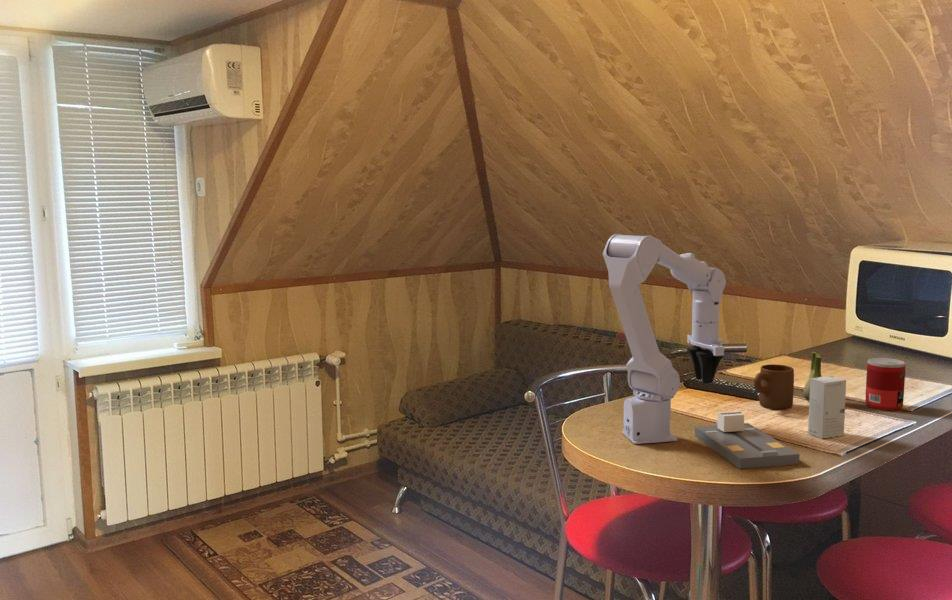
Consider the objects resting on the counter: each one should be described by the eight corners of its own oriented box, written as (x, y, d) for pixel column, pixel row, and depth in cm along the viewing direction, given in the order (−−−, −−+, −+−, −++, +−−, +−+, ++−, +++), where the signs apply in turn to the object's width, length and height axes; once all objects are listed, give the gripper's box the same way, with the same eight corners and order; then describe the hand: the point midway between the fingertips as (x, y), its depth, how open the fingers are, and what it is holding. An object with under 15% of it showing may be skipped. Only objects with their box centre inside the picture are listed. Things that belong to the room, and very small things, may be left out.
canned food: (905, 412, 181) (908, 365, 180) (867, 409, 184) (869, 363, 182) (899, 403, 188) (902, 358, 187) (862, 401, 191) (865, 356, 189)
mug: (768, 416, 181) (769, 376, 179) (740, 408, 187) (741, 369, 185) (799, 406, 187) (801, 368, 186) (771, 400, 194) (772, 362, 192)
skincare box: (822, 439, 163) (825, 383, 162) (806, 433, 168) (808, 378, 166) (845, 435, 166) (848, 379, 164) (828, 429, 170) (831, 375, 168)
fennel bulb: (820, 405, 188) (822, 356, 186) (799, 402, 191) (801, 353, 189) (827, 400, 193) (829, 351, 191) (806, 396, 196) (808, 349, 194)
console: (739, 468, 148) (740, 454, 148) (694, 435, 168) (695, 423, 167) (799, 464, 150) (799, 450, 149) (747, 432, 169) (748, 419, 169)
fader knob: (723, 432, 162) (724, 415, 162) (717, 427, 165) (717, 411, 165) (743, 430, 163) (744, 414, 163) (736, 426, 166) (737, 410, 166)
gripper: (738, 325, 167) (736, 388, 169) (708, 314, 182) (706, 372, 184) (706, 327, 166) (705, 389, 168) (679, 316, 181) (678, 374, 183)
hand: (704, 381), depth 176 cm, fingers open, 3 cm apart
